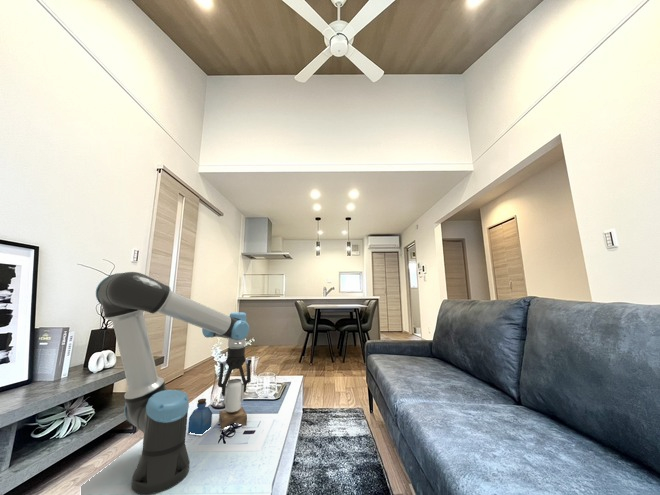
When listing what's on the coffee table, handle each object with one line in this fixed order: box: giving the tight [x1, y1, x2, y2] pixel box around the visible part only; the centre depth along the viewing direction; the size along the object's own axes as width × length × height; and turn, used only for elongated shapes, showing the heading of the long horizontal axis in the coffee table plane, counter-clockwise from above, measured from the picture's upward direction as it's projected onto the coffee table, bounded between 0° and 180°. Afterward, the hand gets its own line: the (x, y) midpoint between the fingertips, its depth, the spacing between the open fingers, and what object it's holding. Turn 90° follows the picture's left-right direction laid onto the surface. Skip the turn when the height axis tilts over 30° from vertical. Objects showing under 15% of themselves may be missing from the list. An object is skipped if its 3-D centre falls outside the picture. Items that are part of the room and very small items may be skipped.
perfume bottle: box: [187, 398, 213, 434], centre depth 111 cm, size 6×6×12 cm
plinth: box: [218, 406, 248, 429], centre depth 117 cm, size 10×10×4 cm
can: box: [224, 378, 243, 413], centre depth 119 cm, size 6×6×12 cm
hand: (233, 401), depth 118 cm, fingers closed on can, 6 cm apart
